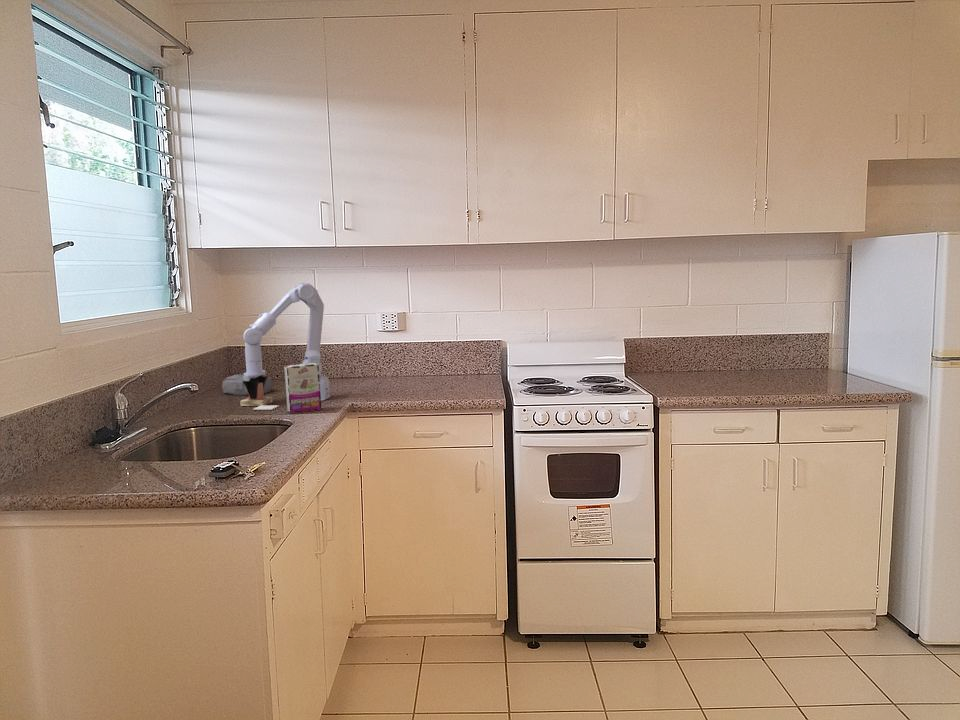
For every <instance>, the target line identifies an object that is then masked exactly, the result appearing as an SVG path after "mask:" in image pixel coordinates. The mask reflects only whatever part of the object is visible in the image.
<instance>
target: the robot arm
mask: <svg viewBox="0 0 960 720" xmlns="http://www.w3.org/2000/svg"><path fill="white" fill-rule="evenodd" d="M300 301H302V302H303V303H304V304H305V305H306V306H307V307H308V309H310V310H309V317H308V318H309V319H308V329H307V330H308V331H307V341H306V351H305V353H304V357H303V358H304V359H303V360H302V361H301V364H309V363H317V364H318V366H319V380H320V394H321V402H322V401H326V400H327V399H329V398H331V395H330V393H331V392H330V380H329V377H328V376H326V375H325V376H324V375H323V374H322V370H323V365H322V362H321V359H322V358H321V352H320V351H321V340H322V329H323V321H324V320H323V319H324V309H325V305H324V302H323V300H322V298H321V296H320V294H319V291H318V289H316V288H315V287H314V286H313V285H312V284H311V283H309V282H308V283H307V282H305V283H304V282H299V283H297V284H296V285H295V286H294V287H293V288H292V289H290V290H289V291H287V292H286V293H285V295H284V296H283V297H282V298H281V299H280V301H278V302H277V303H276V305H275V306H274V307H272V309H271V310H270V311H269V312H263V313H260V314H259V315H258V318H257V319H256V321H254V322H253V323H252V324H251V323H250V324H249V327H250V328H247V329H246V330H244V332H243V336H242V339H243V341H244V347H245V348H244V354H245V356H244V358H245V369H246V370H245V372H243V373H244V376H243V383H244V385H245V386H246V388H247V391H248V393H249V395H248V398H249V397H250V399H256V397H257V386H258V383H263V389H264V385H265V382H266V380H267V377H268V376H266V375H267V373H266V369H263V358H262V357H263V356H262V348H261V341H262V340H263V337H265V335H266V334H268V332H269V331H270V330H271V329H272V328H273V327H274V326H275V325H276V324H277V318H278V317H279V316H280V315H281V314H282V313H283V312H284V311H286V310H287V309H288V307H290V306H291V305H292V304H295V303H298V302H300Z"/></svg>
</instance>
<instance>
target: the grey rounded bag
mask: <svg viewBox="0 0 960 720" xmlns="http://www.w3.org/2000/svg"><path fill="white" fill-rule="evenodd" d="M244 373H245V372H243V373H238V374H234V375H230V376H227V377H226V378H224V379H223V380H222V383H221V389H222V392H223V394H228V395H230V394H235V395H234V396H243V395H248V391H247V388H246V386H245V385H244V383H243V376H244ZM272 388H273V381H272V378H271V377H270V376H267V380H266V382H265V385H264V389H263V393H265V394H268V393H270V392H271V391H272ZM267 392H268V393H267ZM248 396H249V395H248Z"/></svg>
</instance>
